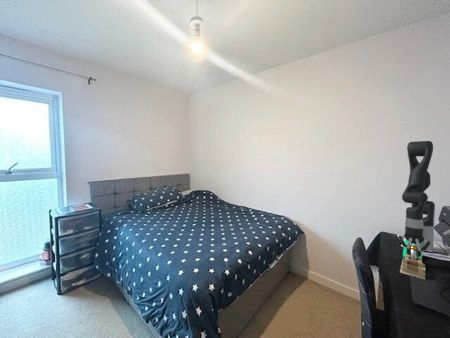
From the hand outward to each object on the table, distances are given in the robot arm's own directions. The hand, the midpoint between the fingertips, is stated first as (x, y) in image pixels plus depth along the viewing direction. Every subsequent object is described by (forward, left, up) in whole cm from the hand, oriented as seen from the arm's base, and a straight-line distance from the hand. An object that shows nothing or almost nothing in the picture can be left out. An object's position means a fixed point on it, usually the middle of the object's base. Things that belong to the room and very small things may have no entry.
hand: (413, 255), depth 115 cm
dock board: (+6, 0, -6) cm, 8 cm away
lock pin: (0, 0, -5) cm, 5 cm away
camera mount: (-12, -1, -6) cm, 13 cm away
